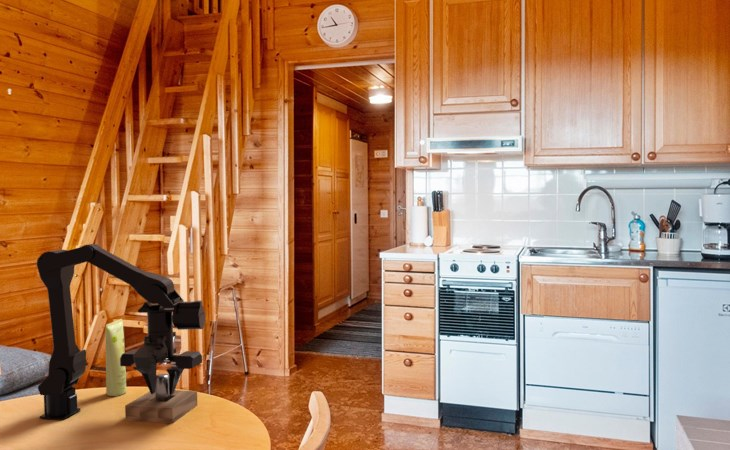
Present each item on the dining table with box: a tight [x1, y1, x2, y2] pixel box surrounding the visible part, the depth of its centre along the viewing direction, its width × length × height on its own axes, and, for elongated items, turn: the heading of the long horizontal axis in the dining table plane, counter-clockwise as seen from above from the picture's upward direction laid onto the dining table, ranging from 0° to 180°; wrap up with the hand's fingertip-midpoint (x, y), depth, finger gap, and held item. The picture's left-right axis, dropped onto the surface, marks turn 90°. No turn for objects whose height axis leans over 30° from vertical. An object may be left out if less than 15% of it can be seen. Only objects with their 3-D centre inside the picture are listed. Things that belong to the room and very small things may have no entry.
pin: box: [155, 373, 170, 402], centre depth 138 cm, size 3×3×8 cm
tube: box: [105, 318, 127, 397], centre depth 153 cm, size 6×5×20 cm
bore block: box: [124, 389, 198, 424], centre depth 139 cm, size 12×12×4 cm
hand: (162, 394), depth 139 cm, fingers open, 5 cm apart
